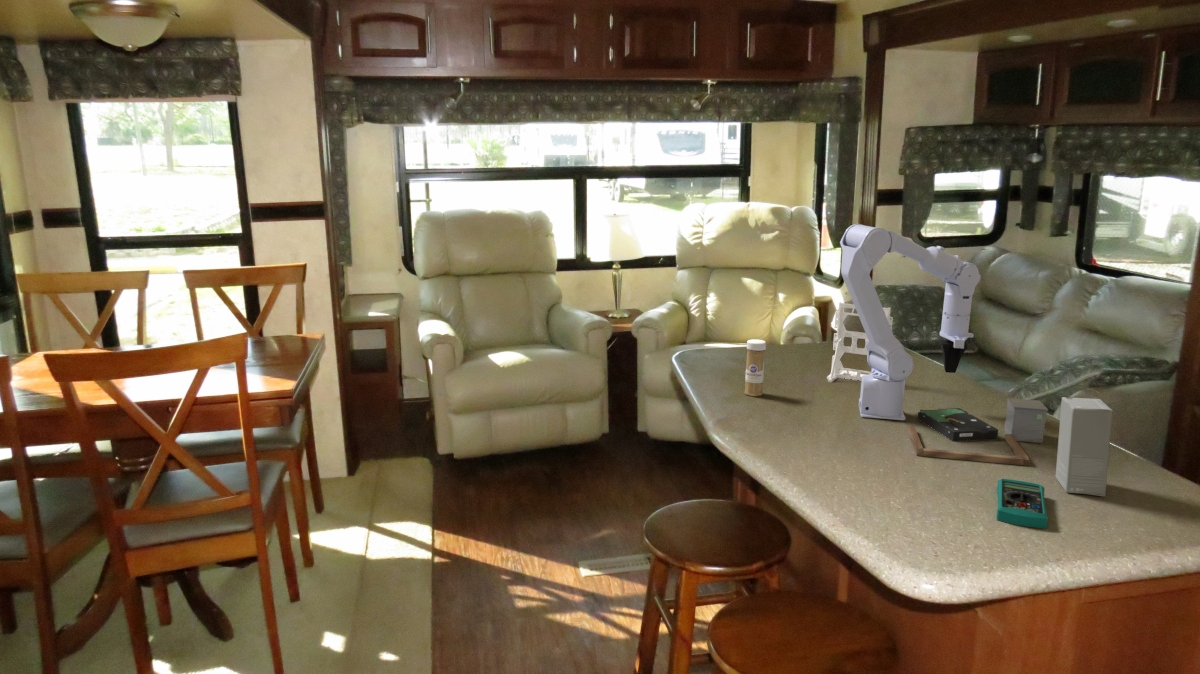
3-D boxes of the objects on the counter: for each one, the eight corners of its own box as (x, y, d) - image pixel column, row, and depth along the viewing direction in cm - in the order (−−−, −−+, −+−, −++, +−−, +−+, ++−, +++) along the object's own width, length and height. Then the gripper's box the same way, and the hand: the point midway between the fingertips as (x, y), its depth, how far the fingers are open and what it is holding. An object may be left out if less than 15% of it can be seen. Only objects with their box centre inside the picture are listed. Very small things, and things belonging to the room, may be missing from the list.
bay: (916, 455, 162) (917, 449, 162) (907, 430, 176) (908, 425, 176) (1029, 465, 157) (1030, 460, 157) (1011, 439, 171) (1011, 434, 171)
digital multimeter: (995, 524, 134) (997, 507, 133) (996, 490, 147) (998, 475, 146) (1046, 533, 130) (1049, 516, 130) (1042, 498, 144) (1044, 483, 143)
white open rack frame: (893, 378, 217) (900, 303, 213) (880, 390, 206) (887, 312, 201) (839, 369, 225) (845, 298, 220) (823, 381, 213) (829, 305, 209)
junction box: (1009, 440, 171) (1014, 407, 169) (1002, 430, 177) (1006, 398, 175) (1043, 443, 169) (1048, 409, 168) (1035, 433, 176) (1039, 400, 174)
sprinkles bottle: (744, 396, 200) (747, 342, 197) (744, 391, 204) (746, 338, 201) (763, 397, 199) (766, 343, 196) (762, 391, 203) (765, 339, 200)
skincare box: (1105, 498, 143) (1119, 411, 139) (1060, 492, 145) (1072, 407, 141) (1092, 480, 151) (1105, 397, 147) (1049, 475, 153) (1061, 393, 149)
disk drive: (998, 442, 172) (958, 418, 186) (1000, 429, 171) (959, 406, 185) (952, 444, 170) (915, 420, 185) (954, 431, 170) (916, 408, 184)
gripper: (981, 321, 177) (974, 381, 181) (969, 308, 191) (963, 365, 194) (947, 319, 179) (940, 379, 182) (937, 307, 193) (931, 363, 196)
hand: (950, 371), depth 188 cm, fingers closed
